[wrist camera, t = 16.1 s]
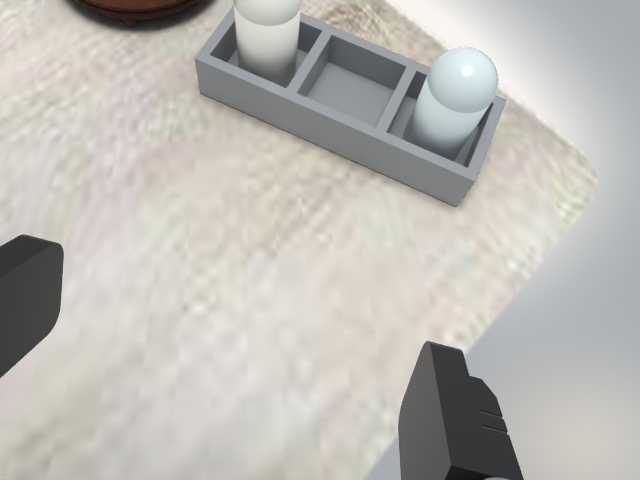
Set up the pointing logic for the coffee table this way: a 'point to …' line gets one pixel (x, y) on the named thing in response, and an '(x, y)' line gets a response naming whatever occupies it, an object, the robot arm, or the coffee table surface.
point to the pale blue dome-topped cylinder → (452, 101)
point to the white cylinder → (268, 38)
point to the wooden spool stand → (136, 8)
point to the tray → (347, 104)
